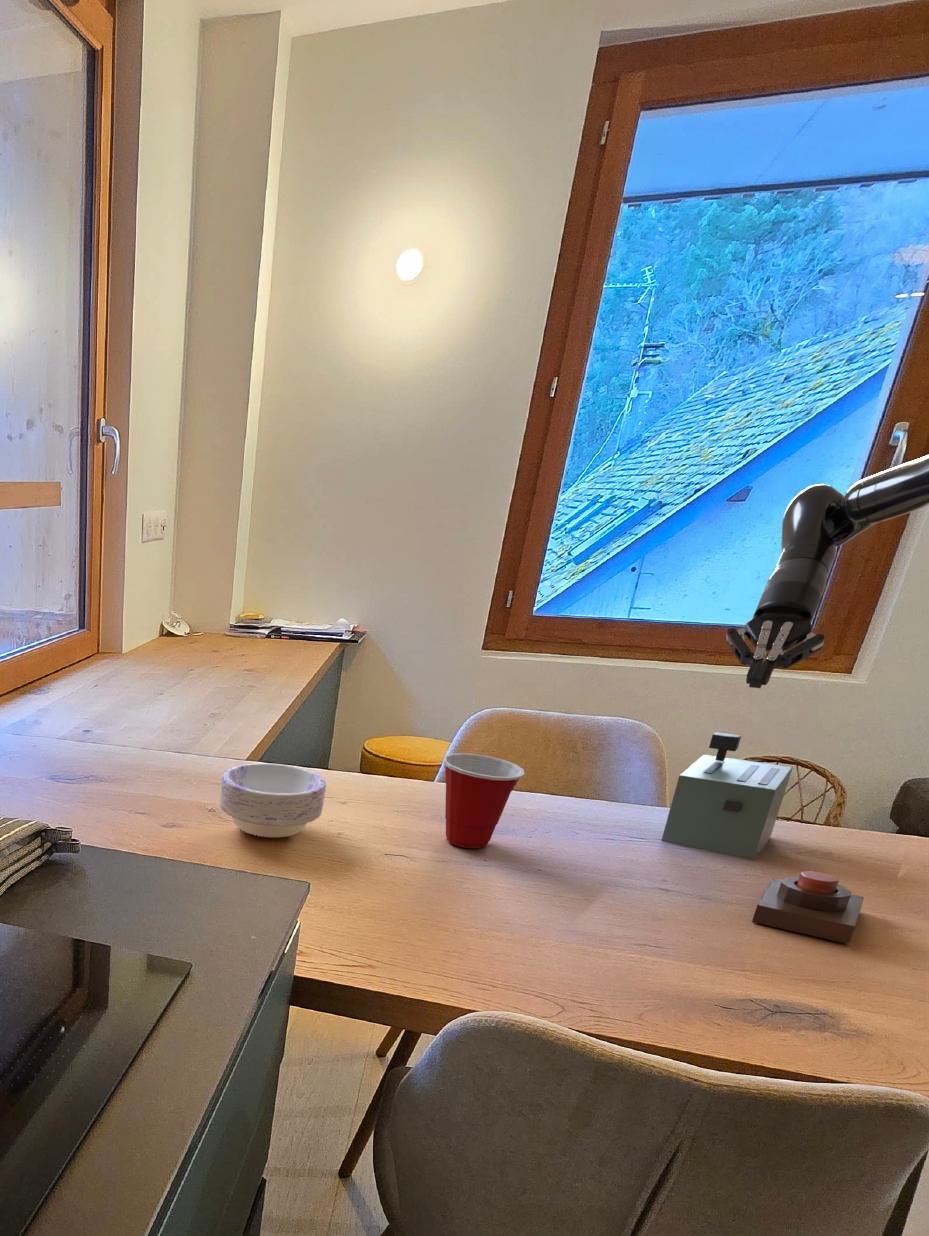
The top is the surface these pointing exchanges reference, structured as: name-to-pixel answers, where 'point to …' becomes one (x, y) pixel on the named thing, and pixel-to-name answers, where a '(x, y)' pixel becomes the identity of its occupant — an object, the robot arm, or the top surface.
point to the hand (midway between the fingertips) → (755, 684)
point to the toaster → (726, 806)
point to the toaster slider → (724, 744)
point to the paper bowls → (271, 798)
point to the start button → (818, 882)
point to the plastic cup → (476, 796)
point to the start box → (809, 910)
